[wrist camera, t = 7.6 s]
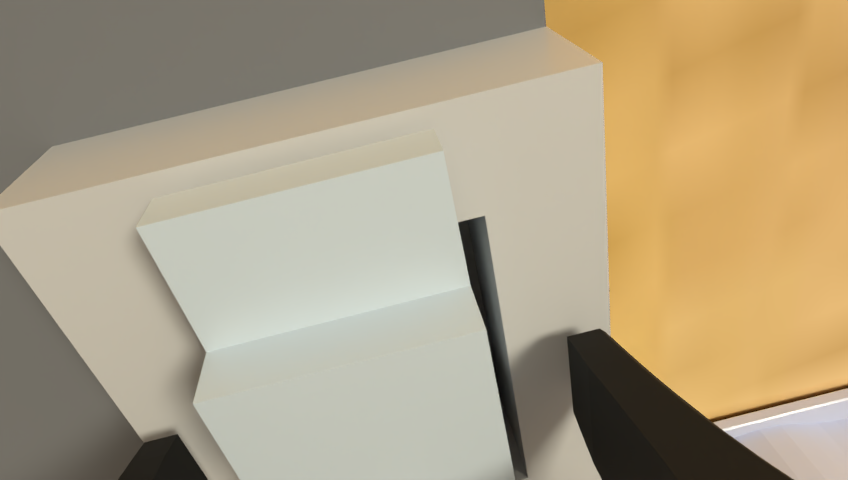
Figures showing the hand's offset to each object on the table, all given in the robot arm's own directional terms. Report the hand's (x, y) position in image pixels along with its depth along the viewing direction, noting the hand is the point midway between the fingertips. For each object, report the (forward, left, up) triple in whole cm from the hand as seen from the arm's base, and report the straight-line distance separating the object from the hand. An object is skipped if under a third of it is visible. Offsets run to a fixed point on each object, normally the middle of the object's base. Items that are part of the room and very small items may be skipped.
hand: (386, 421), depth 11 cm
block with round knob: (0, 0, -3) cm, 3 cm away
